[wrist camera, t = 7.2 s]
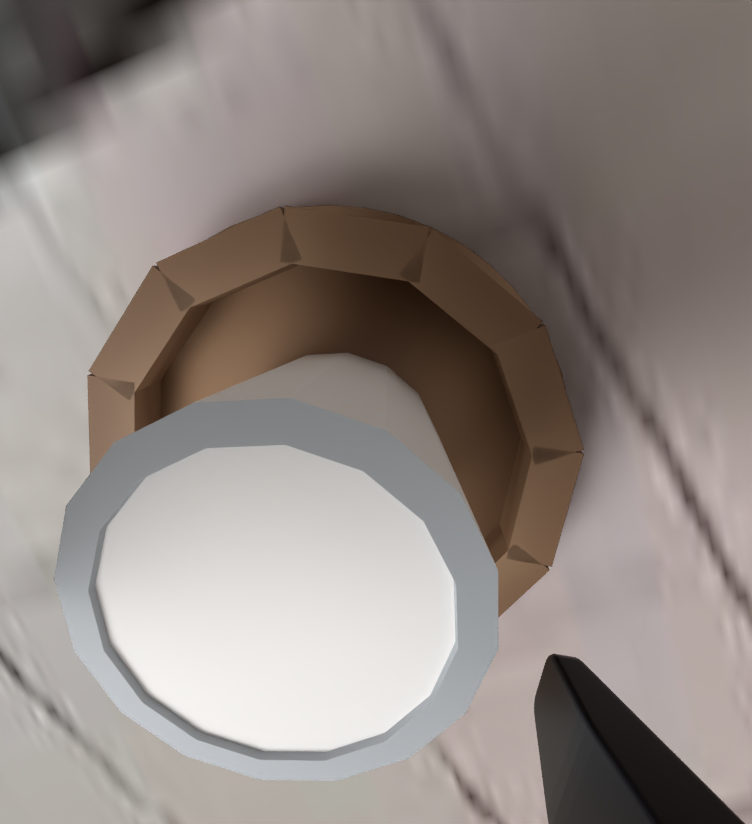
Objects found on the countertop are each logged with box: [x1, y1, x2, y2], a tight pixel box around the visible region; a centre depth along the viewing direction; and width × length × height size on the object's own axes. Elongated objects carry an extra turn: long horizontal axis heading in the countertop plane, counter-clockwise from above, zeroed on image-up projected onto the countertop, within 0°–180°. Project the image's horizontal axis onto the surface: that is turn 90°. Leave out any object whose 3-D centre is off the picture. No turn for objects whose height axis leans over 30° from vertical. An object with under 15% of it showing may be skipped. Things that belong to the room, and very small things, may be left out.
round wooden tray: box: [88, 205, 584, 617], centre depth 14 cm, size 13×13×2 cm
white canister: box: [54, 353, 498, 781], centre depth 11 cm, size 7×7×7 cm
